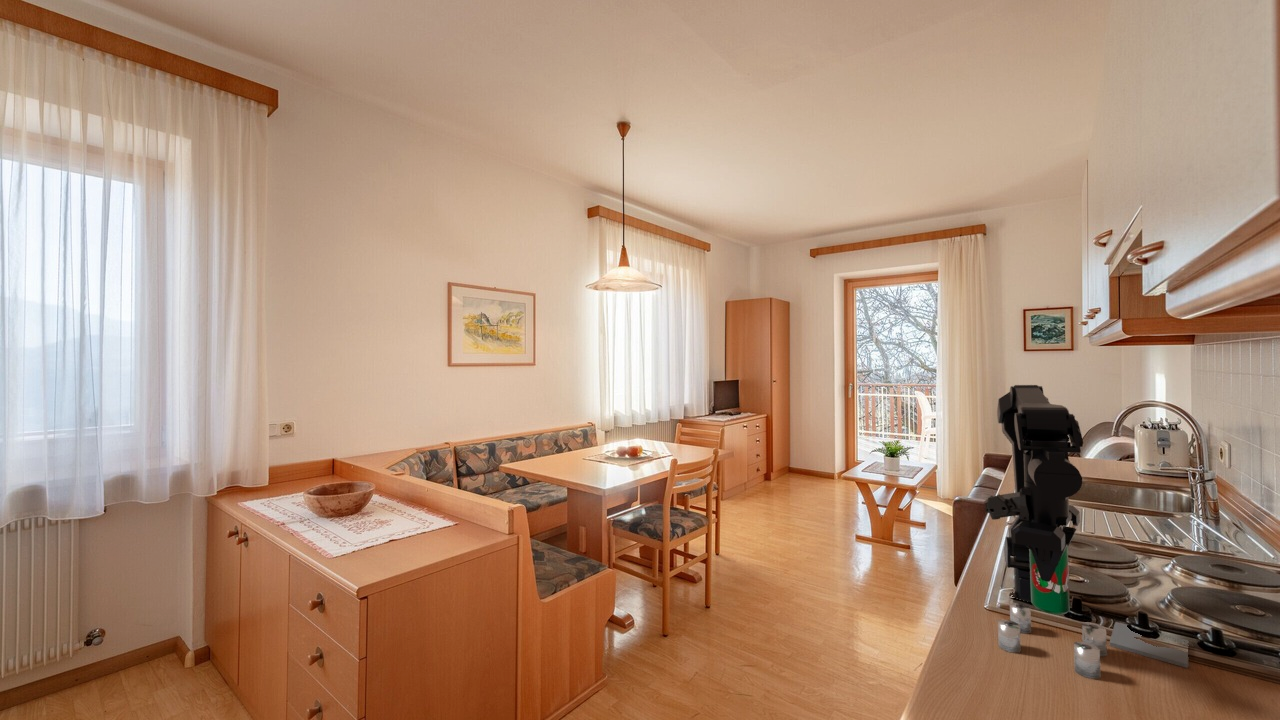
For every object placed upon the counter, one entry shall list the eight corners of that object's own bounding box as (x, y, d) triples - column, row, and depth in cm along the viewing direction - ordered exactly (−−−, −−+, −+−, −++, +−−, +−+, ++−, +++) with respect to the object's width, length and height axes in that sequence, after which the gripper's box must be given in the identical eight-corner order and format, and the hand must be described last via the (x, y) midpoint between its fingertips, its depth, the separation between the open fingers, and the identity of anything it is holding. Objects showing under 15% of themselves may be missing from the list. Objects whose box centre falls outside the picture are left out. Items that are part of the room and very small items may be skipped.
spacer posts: (1012, 622, 94) (1011, 600, 94) (1108, 650, 85) (1107, 626, 85) (996, 647, 87) (995, 623, 87) (1099, 681, 77) (1098, 654, 77)
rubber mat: (1115, 625, 92) (1115, 621, 92) (1188, 644, 86) (1188, 640, 86) (1109, 645, 86) (1109, 642, 86) (1188, 668, 80) (1187, 664, 80)
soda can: (1055, 601, 88) (1053, 531, 88) (1077, 616, 83) (1075, 542, 83) (1024, 601, 89) (1021, 531, 88) (1044, 616, 84) (1041, 542, 83)
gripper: (1002, 465, 98) (1005, 547, 98) (973, 485, 85) (976, 579, 85) (1078, 474, 90) (1081, 563, 90) (1059, 497, 77) (1062, 601, 77)
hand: (1048, 575), depth 86 cm, fingers closed on soda can, 5 cm apart
